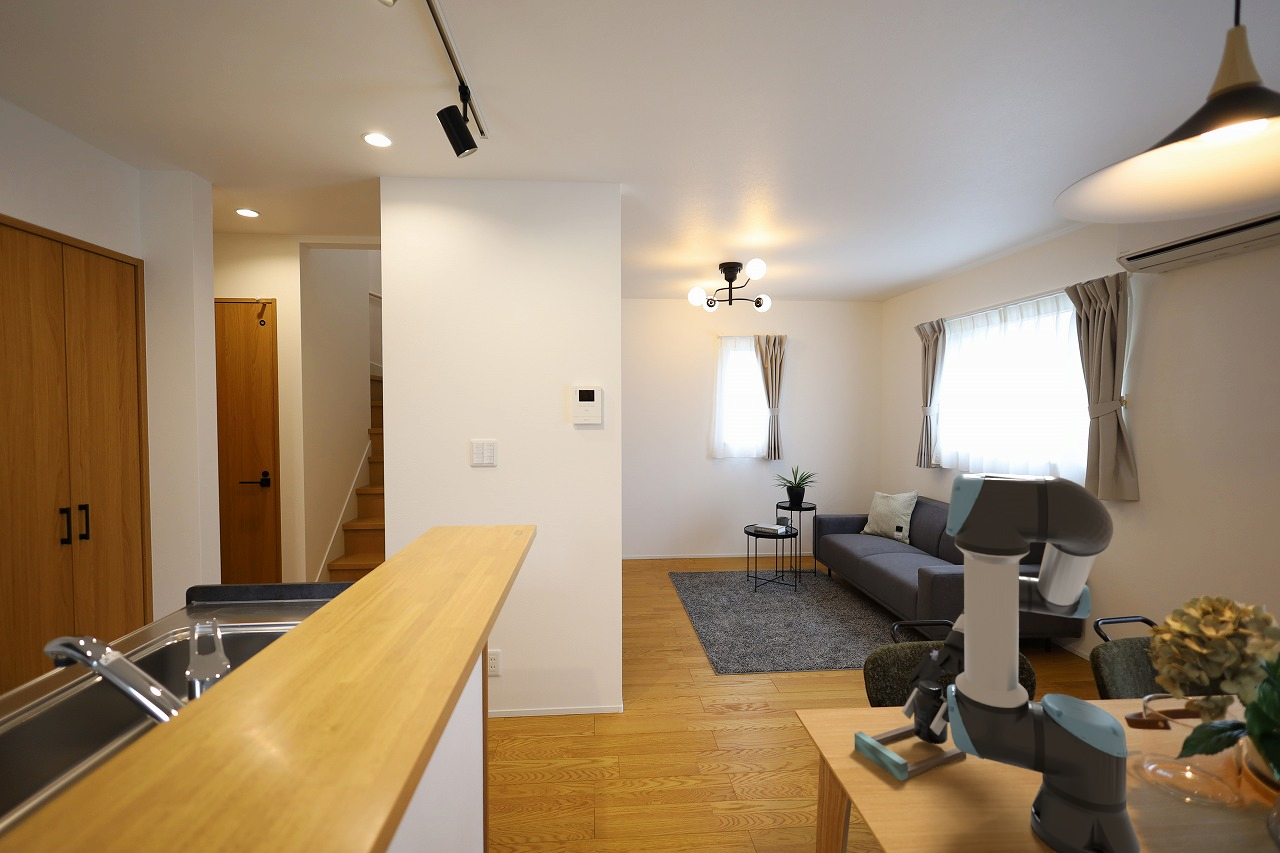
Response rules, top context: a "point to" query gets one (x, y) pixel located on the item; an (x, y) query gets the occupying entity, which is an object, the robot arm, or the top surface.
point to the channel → (895, 763)
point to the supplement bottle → (928, 712)
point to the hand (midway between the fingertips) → (919, 722)
